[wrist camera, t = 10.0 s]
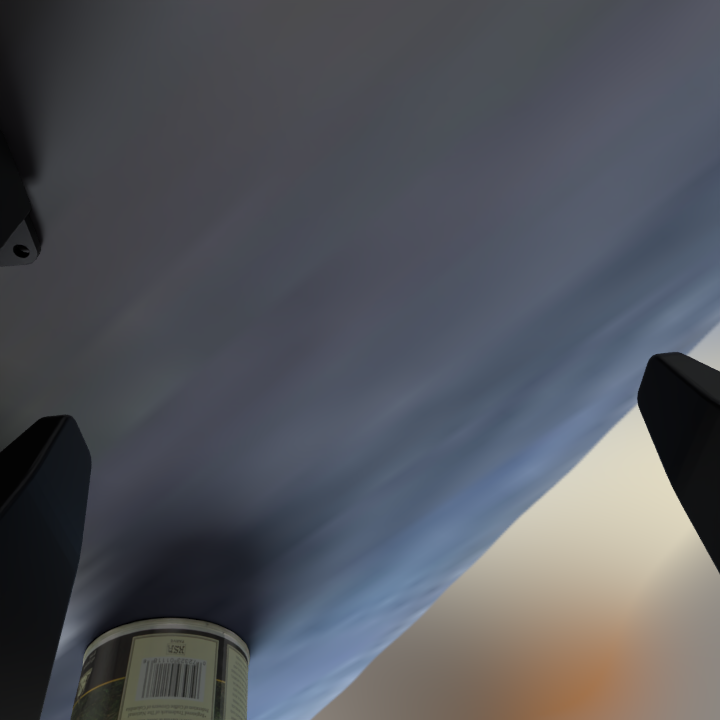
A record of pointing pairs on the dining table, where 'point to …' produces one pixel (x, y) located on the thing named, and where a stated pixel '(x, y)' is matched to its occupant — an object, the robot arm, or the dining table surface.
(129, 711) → the coffee can
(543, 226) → the dining table surface
